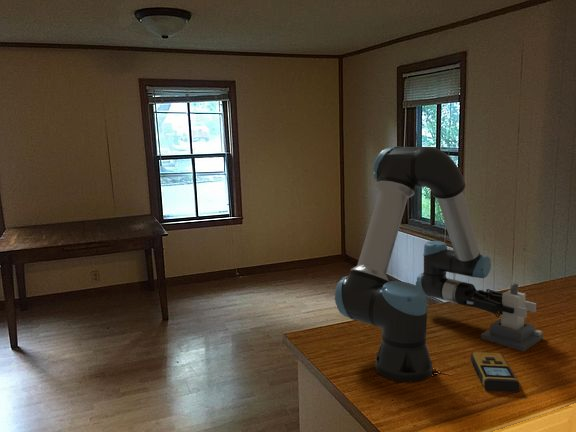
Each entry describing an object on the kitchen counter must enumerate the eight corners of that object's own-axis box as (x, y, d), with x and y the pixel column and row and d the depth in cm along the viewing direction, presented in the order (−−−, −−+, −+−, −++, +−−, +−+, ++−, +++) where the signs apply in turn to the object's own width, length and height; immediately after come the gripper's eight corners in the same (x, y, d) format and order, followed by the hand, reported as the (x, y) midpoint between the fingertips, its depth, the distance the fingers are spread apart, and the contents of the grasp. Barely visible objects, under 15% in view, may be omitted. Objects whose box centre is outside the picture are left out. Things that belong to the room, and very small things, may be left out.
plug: (516, 338, 146) (519, 287, 144) (500, 333, 150) (502, 284, 147) (523, 334, 149) (526, 284, 147) (507, 329, 153) (509, 280, 150)
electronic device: (502, 363, 136) (502, 351, 135) (520, 394, 120) (521, 380, 119) (469, 361, 137) (469, 350, 136) (483, 392, 121) (483, 378, 120)
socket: (523, 351, 141) (524, 337, 140) (481, 338, 151) (481, 324, 150) (542, 338, 149) (543, 324, 148) (501, 326, 159) (501, 313, 158)
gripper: (473, 296, 168) (543, 314, 151) (443, 310, 157) (515, 331, 139) (474, 275, 167) (544, 291, 149) (444, 288, 155) (517, 306, 138)
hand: (530, 310), depth 144 cm, fingers open, 5 cm apart
